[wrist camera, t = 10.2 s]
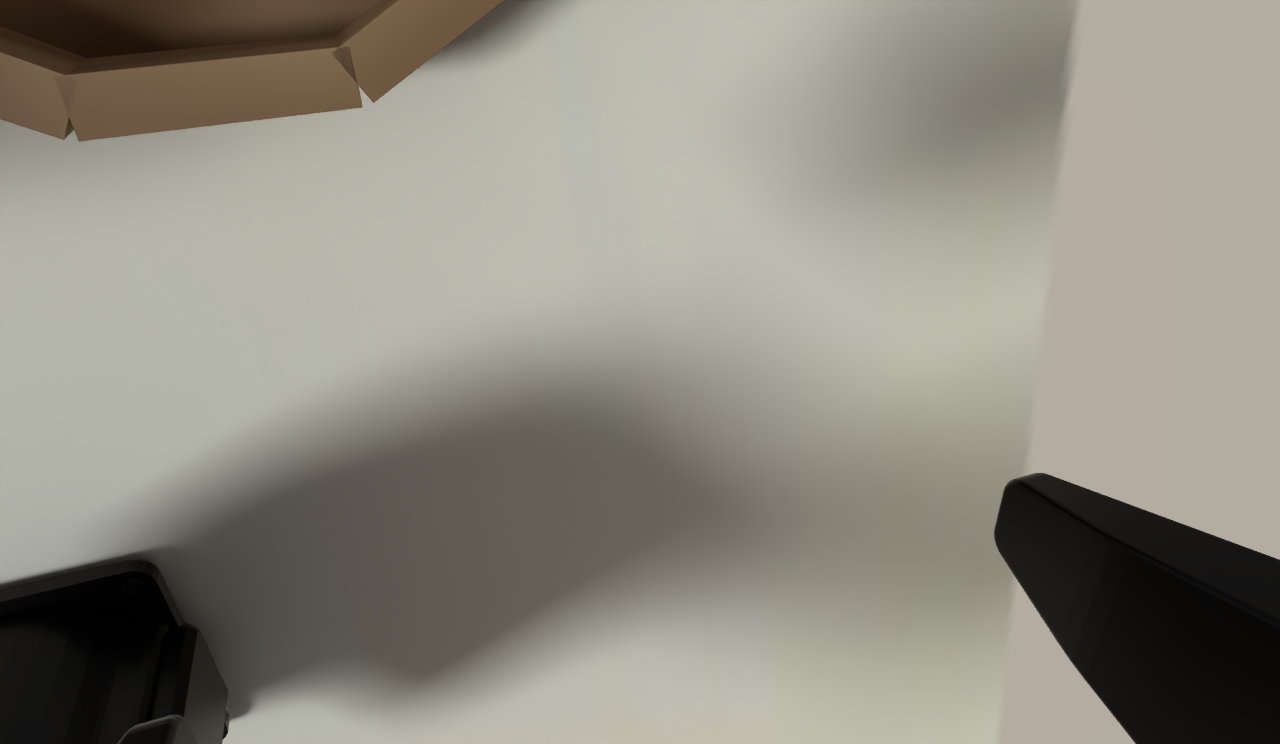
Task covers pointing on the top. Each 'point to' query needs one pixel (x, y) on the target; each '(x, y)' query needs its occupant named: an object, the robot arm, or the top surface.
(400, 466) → the top surface
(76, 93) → the tray
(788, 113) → the top surface
